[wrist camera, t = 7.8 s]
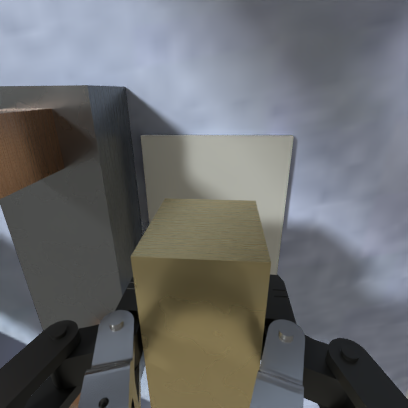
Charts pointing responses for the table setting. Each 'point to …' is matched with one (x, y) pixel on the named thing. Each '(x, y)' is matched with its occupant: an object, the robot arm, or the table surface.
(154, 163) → the felt mat
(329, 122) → the table surface
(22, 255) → the body
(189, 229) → the lever cap
